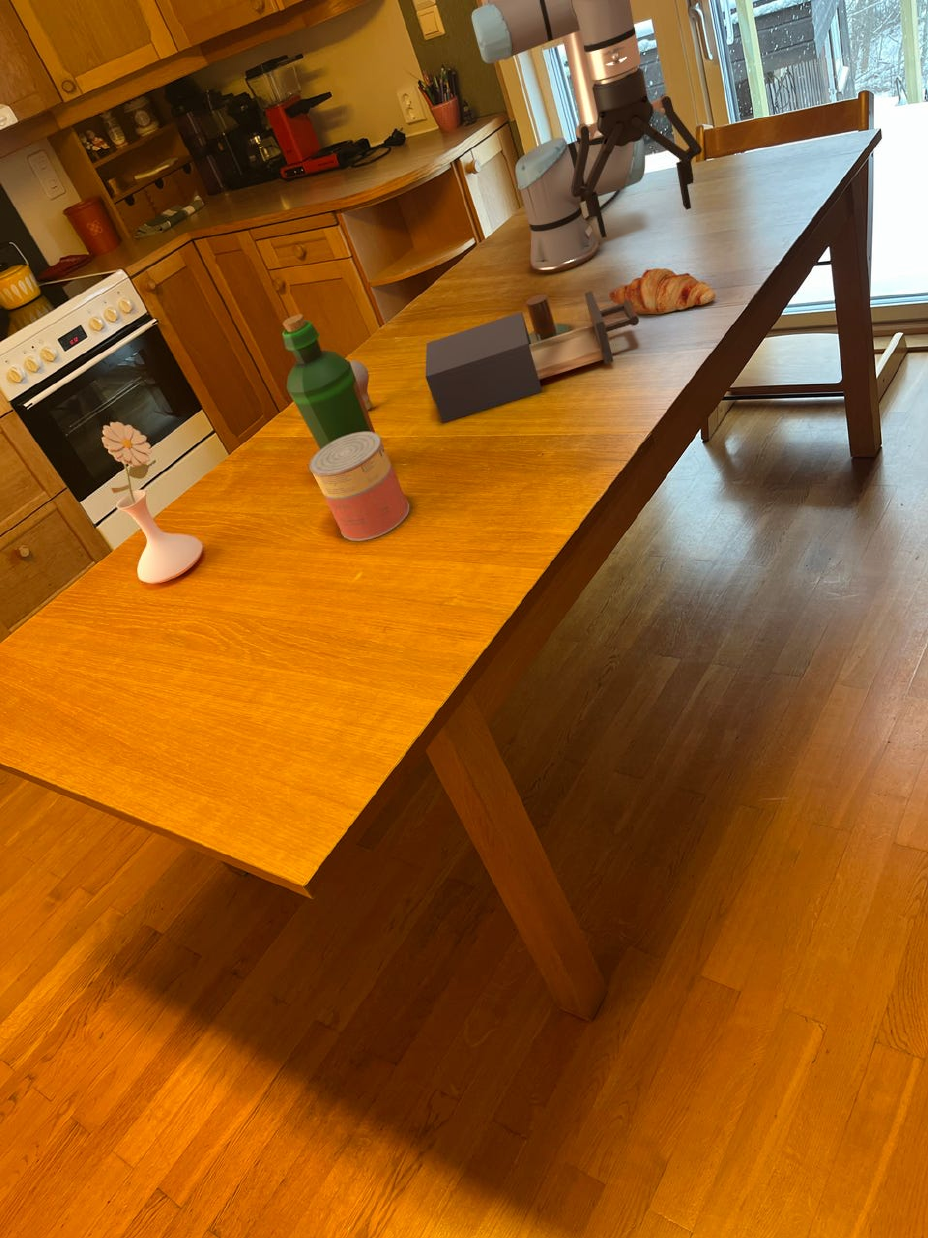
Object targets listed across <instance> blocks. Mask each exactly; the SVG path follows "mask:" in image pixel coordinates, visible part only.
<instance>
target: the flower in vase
mask: <svg viewBox="0 0 928 1238" xmlns="http://www.w3.org/2000/svg"><path fill="white" fill-rule="evenodd" d="M102 434H103V436H102V437H101V441H102V443H103V447H104V448H105V449H107V450H108V451H107V452H108V453H109V454H110V455H112V456H113V457H114V460H115V461H116V462H119V463H120V462H121V463H122V464H123V466H124V467H123V468H124V469H125V470H124V471H125V474H126V478H127V484H126V485H123V486H120V487H111V489H110V490H111V492H112V493H113V494H118V493H120V492H124V491H127V490H129V493H127V494H126V495H124V496H122V497H121V498H120V499H119V500H118V501H117V502H116V505H115V508H116V509H118V510H121V511H123V512H125V513H127V514H128V515H129V516H130V517H131V518H133V520H134V521H135V522H136V524H138V525H139V527H140V528H141V530H142V532H143V533H144V535H145V537H146V545H145V548H144V550H143V551H142V553H141V557H140V558H139V561H138V564H137V577H138V579H139V581H142V582H145V583H147V584H151V585H152V584H161V583H164V582H168V581H170V580H173V579H175V578H177V577H179V576H181V575H182V574H184V573H185V572H187V571H189V569H191V568H192V567H193V566H194V565H195V564H196V563H197V562H198V561H199V559H200V558H201V556H202V553H203V548H204V547H203V543H202V541H201V540H200V539H199V538H197V537H196V536H193V535H190V534H183V533H169V532H165V531H163V530H162V529H161V528H160V527H159V526H158V524H157V523H156V522H155V520H154V519H153V517H152V514H151V513H150V510H149V509H148V506H147V505H148V504H147V499H146V498H147V491H146V490H145V489H137V490H136V489H135V490H134V491H133V490H132V489H133V488H132V483H131V478H133V479H139V480H142V479H144V478H145V477H146V475H147V474H148V472H149V466H150V465H148V464H147V462H148V463H149V462H150V461H151V459H150V456H149V455H150V454H152V449H150V448H151V447H152V446H151V444H150V443H149V442H147V439H148V438H147V436H145V435H144V434H142V433H141V431H140V430H139V429H138V430H137V429H135V428H134V427H133V426H132V425H131V424H126V425H125V424H123V423H122V422H119V421H115V422H113V421H110V422H109V425H107V424H105V425H103V429H102ZM148 454H149V455H148ZM127 465H128V466H129V470H128V466H127ZM130 477H131V478H130Z"/></svg>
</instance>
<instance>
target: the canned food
mask: <svg viewBox="0 0 928 1238" xmlns="http://www.w3.org/2000/svg"><path fill="white" fill-rule="evenodd" d="M308 465H309V466H308V467H309V470H310V471H311V473H312V475H313V476H314V479H315V481H316V482H317V484H318V487H319V489H320V491H321V492H322V495H323V496H324V499H325V502H326V503H327V505H328V507H329V509H330V512H331V513H332V515H333V517H334V519H335V522H336V524H337V525H338V527H339V530H340V532H341V535H342V536H343V537H344V538H345V539H347V540H350V541H355V542H362V541H369V540H373V539H375V538H376V539H377V538H378V537H381V536H383V535H385V534H387V533H390V532H391V531H393V530H394V529H395V528H397V527H398V526H399V525H401V523H402V522H403V521H404V520H405V519H406V518H407V516H408V515H409V512H410V503H409V501H408V500H407V498H406V496H405V493H404V491H403V489H402V487H401V484H400V481H399V479H398V477H397V475H396V473H395V470H394V466H393V465H392V462H391V461H390V458H389V456H388V454H387V451H386V449H385V447H384V444H383V442H382V438H381V436H380V435H379V434H378V433H376V432H375V433H374V432H357V433H353V434H349V435H346V436H343V437H341V438H338V439H336V440H334V441H332V442H330V443H329V444H327V445H326V446H324V447H323V448H321V449H320V448H319V450H318V451H317V452H316V453H314V455H312V457H311V459H310V461H309V464H308Z"/></svg>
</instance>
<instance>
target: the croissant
mask: <svg viewBox="0 0 928 1238" xmlns="http://www.w3.org/2000/svg"><path fill="white" fill-rule="evenodd" d="M609 298H610V300H611V301H612V302H613V304H617V305H620V304H622V303H623V302H624V301H625V300H629V301H630V302H631V303H632V305H633V308H634V310H635V312H636V314H637V315H638V314H640V315H661V314H666V313H671V312H674V311H678V310H680V311H681V310H685V309H687V308H692V307H693V306H695V305H697V306H702V305H706V304H708V303H710V302H712V301H713V300H714V299H715V298H716V291H715V290H714V289H713V288H712V287H711V286H710V285H708V283H706V282H704V281H699V280H698V279H697V278H696V277H694V276H692V275H691V274H690V273H689V272H685V273H681V274H680V273H679V274H676V273H675V272H674V271H673V270H671V269H668V268H663V267H662V268H658V267H657V268H652V269H646V270H645V271H644V272H643V273H642V275H641V276H640V277H636V278H633V280H632V281H631V282H630V284H624V285H621V286H620V287H618V289H614V290H612V291H610V292H609Z"/></svg>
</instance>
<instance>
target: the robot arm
mask: <svg viewBox="0 0 928 1238" xmlns="http://www.w3.org/2000/svg"><path fill="white" fill-rule="evenodd" d="M480 1H481V6H479V7H478V8H475V9H474V10H473V11H472V13H471V22H472V25H473V30H474V34H475V38H476V42H477V46H478V49H479V52H480V55H481V59H482V60H483V62H484V63H486V64H493V63H496V62H499V61H502V60H504V61H506V60H509V59H510V58H512V57H514V56H517V55H520V54H522V53H524V52H527V51H530V50H532V49H535V48H537V47H540V46H542V45H545V44H547V43H549V42H552V41H555V40H558V39H560V38H562V43H563V47H564V51H565V55H566V60H567V65H568V69H569V74H570V80H571V83H572V89H573V94H574V97H575V98H574V99H575V102H576V107H577V112H578V117H579V123H578V125H577V127H576V128H575V129H574V133H575V134H574V135H575V138H576V139H575V141H573V142H569V143H568V142H567V140H566V139H565V138H564V137H557V138H555V139H550V140H548V141H545V142H543V143H541V144H539V145H538V146H535V147H534V148H532V149H530V150H529V151H527V152H526V153H525V154H524V155H522V156H521V158H519V159H518V161H517V163H516V165H515V167H514V169H515V170H514V171H515V176H516V181H517V189H518V190H519V191H520V195H521V199H522V203H523V206H524V207H523V208H524V210H525V215H526V219H527V222H528V225H529V230H530V265H531V270H532V271H533V273H537V274H544V275H546V274H554V273H559V272H563V271H567V270H571V269H573V268H575V267H578V266H580V265H582V264H584V263H586V262H588V261H589V260H591V259H592V258H593V257H595V256H596V255H597V254H598V253H599V251H600V246H599V240H598V239H597V237H596V235H595V233H594V230H593V229H592V227H591V225H590V224H589V223H588V221H589V220H590V219H592V218H596V222H597V226H598V231H599V235H600V237H601V239H604V238H607V237H608V236H607V232H606V228H605V222H604V218H603V214H602V210H604V209H605V208H606V207H607V206H609V204H610V203H612V201H614V199H616V197H618V195H619V193H620V192H621V190H622V191H623V190H625V189H626V188H628V187H630V186H633V185H636V184H638V183H639V182H641V181H642V179H643V177H644V175H645V171H646V149H645V141H644V136H645V135H646V136H647V137H648V138H650V139H651V140H653V141H654V142H655V143H657V144H658V145H660V146H661V147H663V148H664V149H665V150H666V151H668V152H669V153H670V154H672V155H673V156H675V157H676V158H677V159H679V160H680V161H678V162H676V163H675V165H676V171H677V177H678V182H679V188H680V195H681V200H682V206H683V207H684V209H685V210H686V211H687V210H690V209H692V203H691V198H690V192H689V186H688V185H692V184H694V178H695V177H694V172H693V167H692V165H693V164H692V161H693V159H694V158H695V157H696V156H698V155H701V153H702V151H703V149H702V147H701V145H700V144H699V142H698V141H697V140H696V138H695V137H694V136H693V134H692V133H691V132H690V130H689V129H688V127H687V126H686V125H685V124H684V122H683V121H682V120H681V118H680V116H679V115H678V114H677V113H676V111H675V109H674V107H673V103H672V99H671V97H670V96H668V95H667V94H666V93H663V94H661V95H660V96H659V98H657V99H656V100H654V101H652V102H650V100H649V97H648V91H647V86H646V81H645V74H644V70H643V69H642V68H640V67H639V66H640V65H641V64H642V59H641V58H642V57H641V52H640V48H639V43H638V39H637V32H636V27H635V24H634V16H633V11H632V5H631V0H480ZM654 111H657V112H658V113H659V115H664V116H665V117H666V118H667V120H668V121H669V122H670V124H671V126H672V127H673V128H674V129H675V130H676V132H677V133H678V135H679V136H680V138H682V140H683V141H684V142H685V144H686V145H687V147H688V148H686V149H683V148H682V147H680V146H679V145H678V144H677V143H675V142H673V141H672V140H671V139H670V138H668V137H667V136H665V135H664V134H663V133H662V132H660V131H659V130H658V129H657V128H655V127H654V126H652V125H651V124H650V121H651V120H652V117H653V114H654ZM611 193H613V195H612V196H611V197H610V198H608V199H607V200H606V201H605V202H604V203H603V204H602V205H600V201H599V200H600V199H599V197H601V196H605V195H608V194H611ZM584 202H585V207H586V210H587V214H588V215H587V216H586V217H585V216H584V214H583V210H582V206H581V204H582V203H584Z"/></svg>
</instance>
